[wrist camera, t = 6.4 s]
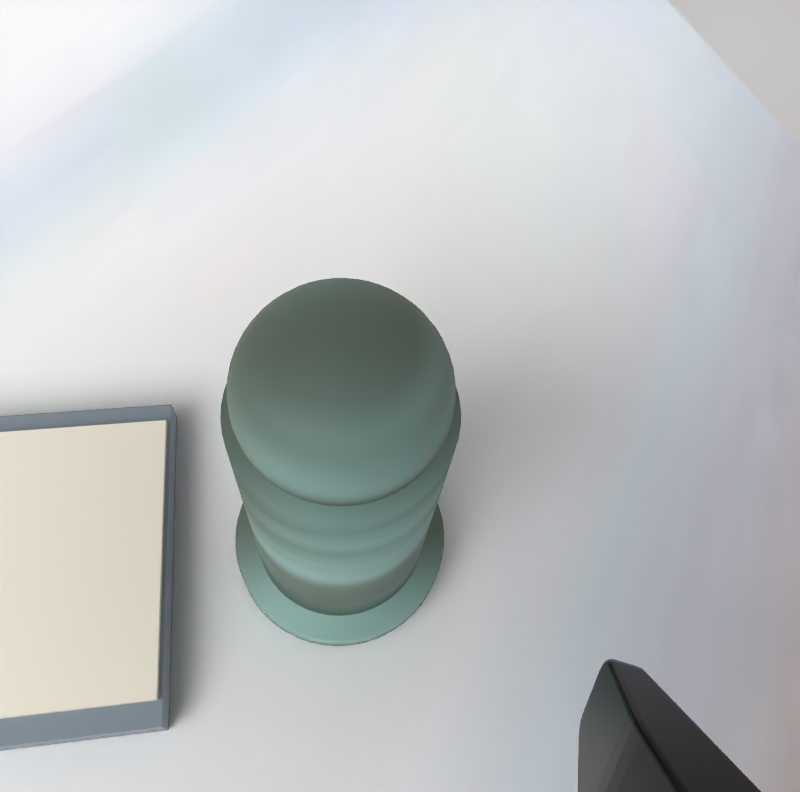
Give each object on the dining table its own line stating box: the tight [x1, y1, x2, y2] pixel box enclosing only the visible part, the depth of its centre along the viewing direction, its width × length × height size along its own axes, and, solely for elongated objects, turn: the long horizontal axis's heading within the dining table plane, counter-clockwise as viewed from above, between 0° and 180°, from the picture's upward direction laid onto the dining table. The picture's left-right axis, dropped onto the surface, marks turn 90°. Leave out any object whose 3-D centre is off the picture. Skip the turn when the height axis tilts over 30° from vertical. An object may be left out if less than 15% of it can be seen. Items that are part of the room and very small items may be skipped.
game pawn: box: [221, 278, 461, 646], centre depth 16 cm, size 6×6×11 cm
